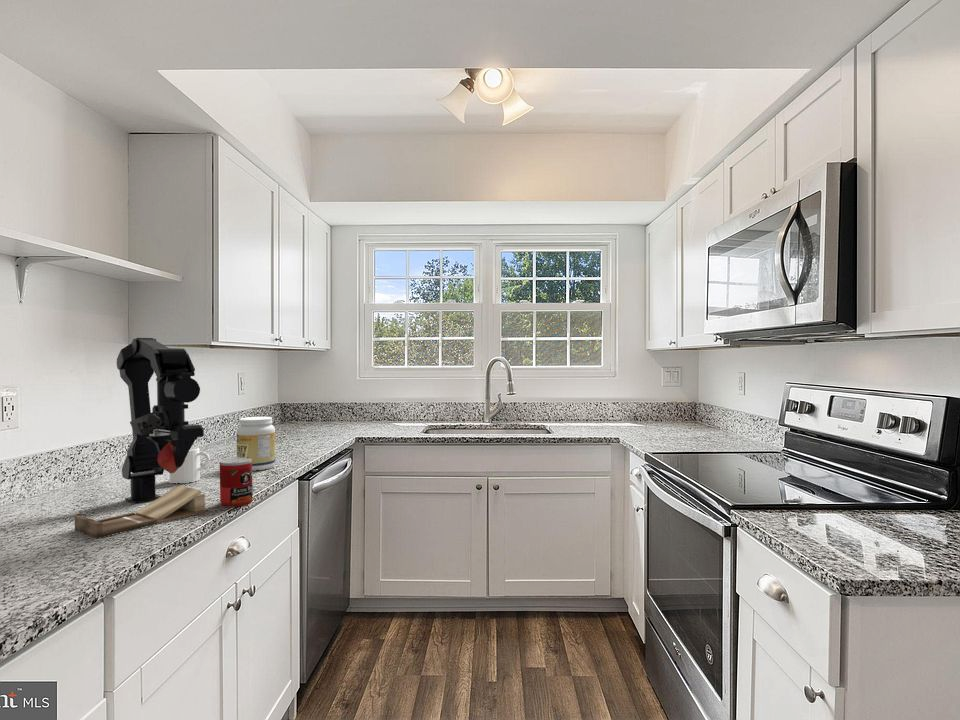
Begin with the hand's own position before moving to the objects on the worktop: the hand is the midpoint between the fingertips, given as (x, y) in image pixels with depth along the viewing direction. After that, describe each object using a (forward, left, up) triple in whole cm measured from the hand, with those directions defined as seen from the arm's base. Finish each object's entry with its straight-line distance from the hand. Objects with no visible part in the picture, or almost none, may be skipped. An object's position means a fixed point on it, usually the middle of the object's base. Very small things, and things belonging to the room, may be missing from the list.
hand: (171, 465), depth 136 cm
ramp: (0, -1, -12) cm, 12 cm away
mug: (-32, +22, -12) cm, 41 cm away
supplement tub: (-33, +45, -12) cm, 57 cm away
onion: (0, 0, -2) cm, 2 cm away
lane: (0, -7, -12) cm, 13 cm away
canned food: (+4, +14, -12) cm, 19 cm away
